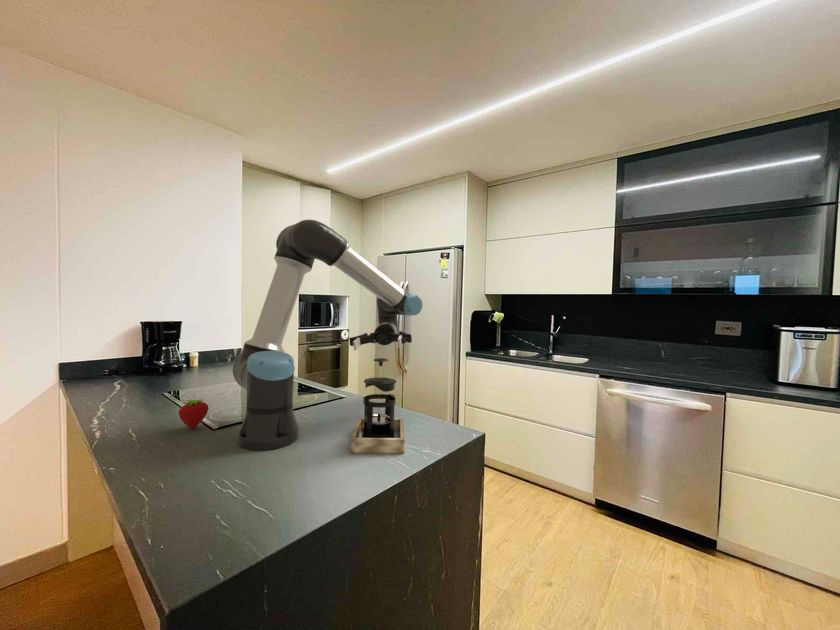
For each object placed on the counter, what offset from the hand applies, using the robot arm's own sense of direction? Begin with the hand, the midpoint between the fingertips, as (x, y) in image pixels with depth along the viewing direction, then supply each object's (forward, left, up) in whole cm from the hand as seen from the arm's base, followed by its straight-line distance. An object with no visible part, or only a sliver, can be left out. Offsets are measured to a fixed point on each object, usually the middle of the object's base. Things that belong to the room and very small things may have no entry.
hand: (376, 344), depth 102 cm
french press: (+2, -8, -26) cm, 27 cm away
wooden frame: (+2, -8, -26) cm, 27 cm away
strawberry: (-52, -1, -26) cm, 58 cm away
